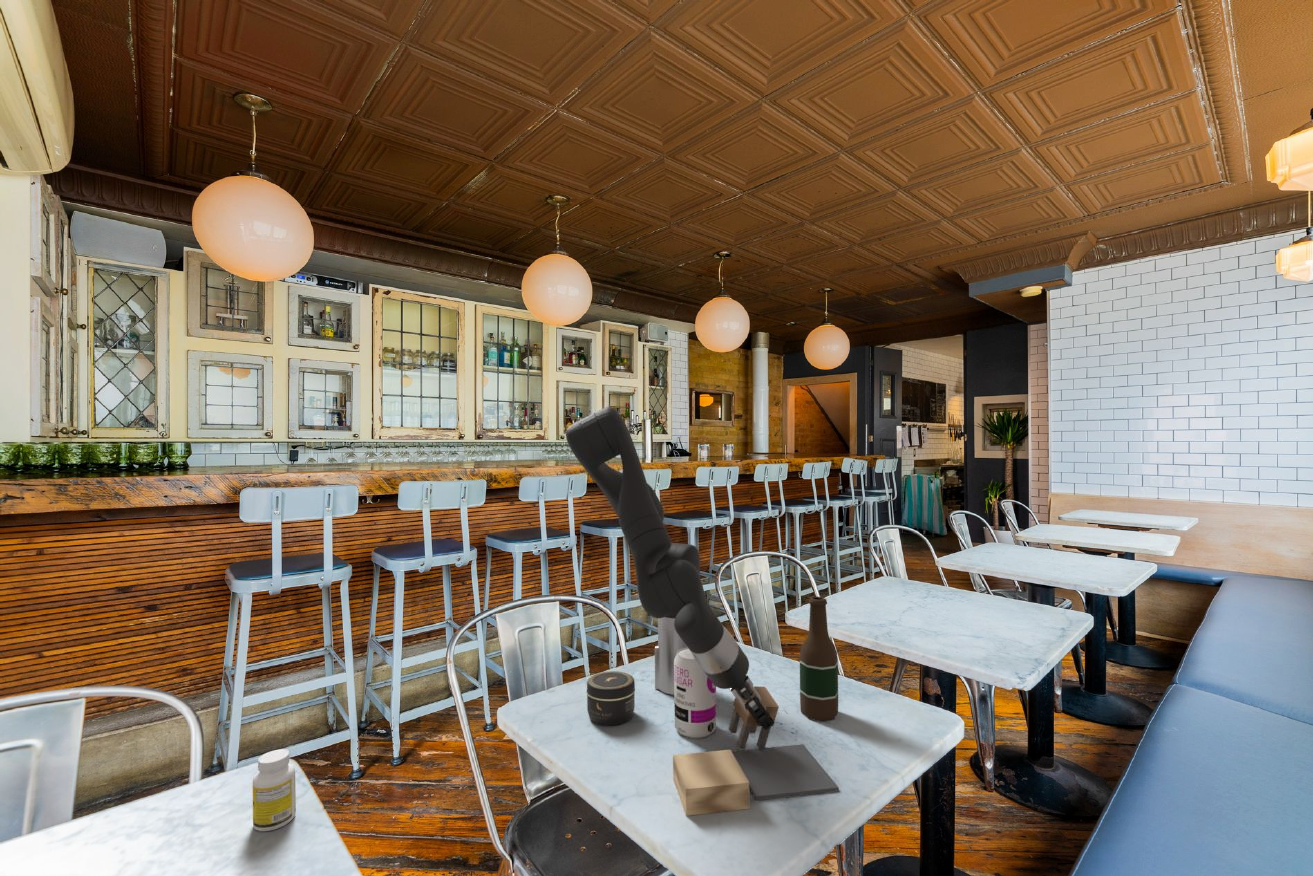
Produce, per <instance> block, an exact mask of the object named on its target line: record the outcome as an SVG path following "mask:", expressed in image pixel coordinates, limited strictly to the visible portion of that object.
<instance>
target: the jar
mask: <svg viewBox="0 0 1313 876" xmlns="http://www.w3.org/2000/svg"><path fill="white" fill-rule="evenodd" d="M635 683H636V682H635V678H634V677H633V676H632V675H631V674H629V673H628V672H627V673H626V672H622V671H611V670H610V671H603V672H598V673H595V674H594V675H592V676H590V677H589V678H588V679H587V681H586V694H587V695H586V697H587V698H586V699H587V700H586V703H587V704H586V706H587V713H588V717H589V719H590V720H591V722H593V723H594V724H596V725H599V726H603V727H615V726H620V725H623V724H626V723H627V722H629V721H630V720H631V718H632V717H633V715H634V712H635V698H636V697H635V695H636V694H635V693H636V692H635V691H636V687H635V686H636V685H635Z"/></svg>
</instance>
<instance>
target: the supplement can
mask: <svg viewBox="0 0 1313 876" xmlns="http://www.w3.org/2000/svg"><path fill="white" fill-rule="evenodd" d="M673 697H674V700H673V701H674V728H675V729H676V731H678V733H679V734H680V735H682V736H684V737H687V738H691V739H692V738H693V739H700V738H705V737H709V736H710V735H711V734H713V732H714V731H716V728H717V687H716V686H715V685H714V684H713V683H712V681H711V680H710V679H709V677H708V676H707V675H706V673H705V672H704V671H703V669H702V668H701V667H700V665H699V664H698V663H697V661H696V660H695V658H694V657H693V655H692V653H691V651H690V650H689V648H688V647H687V648H683V649H681V650H679V651H678V652H677V655H676V657H675V659H674V695H673Z"/></svg>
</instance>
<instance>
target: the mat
mask: <svg viewBox="0 0 1313 876" xmlns="http://www.w3.org/2000/svg"><path fill="white" fill-rule="evenodd" d="M731 752H732V753H733V755H734V757H735V759H736V760H737V762H738V764H739V765H740V767H741V769H742V771H743V772H744V774H745V776H746V778H747V779H748V781H749V792H751V794H752V796H753V798H754V800H755V801H760V800H761V801H762V800H763V801H764V800H770V799H772V800H773V799H780V798H788V797H797V796H806V795H816V794H824V793H832V792H833V793H834V792H840V791H839V790H840V787H839V786H838V784H837V783H836V782H835V781H834V780H833V779H832V778H831V776H830V775H829V773H828V772H827V771H826V770H825V768H824V767H822V765H821V764H820V762H819V761H818V760H817V759H816V758H815V756H813V754H812V753H811V752H810V751H809V750H808V748H807V747H806V746H805V745H804V743H803V744H802V743H801V744H791V745H780V746H772V747H771V746H770V747H765V749H759V748H749V749H748V748H747V749H739V750H738V749H737V750H731Z"/></svg>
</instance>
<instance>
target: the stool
mask: <svg viewBox="0 0 1313 876" xmlns="http://www.w3.org/2000/svg"><path fill="white" fill-rule="evenodd" d="M750 688H751V687H750ZM754 688H755V689H756V691H757V692H758V694H759V695H760V697H761V703H762V704H763V706H764V707H766V710H767V711H768V712H769V713H770V714H769V715H770V716H771V718H772V719H773V721H774V723H775V722H776V721H775V720H776V718H777V715H778V711H779V707H780V706H779V705H778V703H777V702H776V700H775V699H774V698H773V696H772V695H771V693H770V692H769V691H768V689H767V688H766V686H754ZM751 690H752V689H751ZM752 691H753V690H752ZM754 696H755V693H754V692H753V695H752V696H751V697H752V698H753V697H754ZM742 700H743V701H744V702H748V701H747V700H744V699H742ZM732 705H733V707H734V708H733V712H732V716H731V718H730V723H729V726H728V731H729V733H730V734H737V731H738V727H739V725H740V724H739V723H740V720H741V722H742V725H741V729H740V732H739V736H738V739H737V743H736V746H737V748H738V749H739V750H746V746H747V743H748V739H749V736H750V734H756V731H757V728H758V727H760V731H759V735H758V738H757V741H756V746H757V749H765V748H766V745H767V743H768V739H769V734H770V731H771V727H772V726H771V727H770V728H769V729H767V730H765V729H764V728H763V727H762V725H761V724H758V723H756V720H755V719H754V718H753V716H752V715H751V714H750V712H749V711H748V710H746V709H745V708H744V707H743V705H742V704H741V702H740V701H739V699H738V698H736V697H735V696H734V700H733V704H732Z"/></svg>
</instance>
